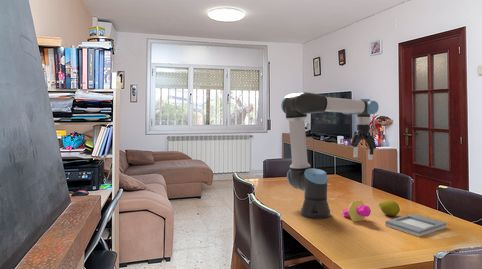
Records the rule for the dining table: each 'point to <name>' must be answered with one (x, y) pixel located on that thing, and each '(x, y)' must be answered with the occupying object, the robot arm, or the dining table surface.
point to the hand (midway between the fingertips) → (362, 158)
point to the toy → (357, 211)
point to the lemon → (389, 207)
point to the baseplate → (415, 224)
